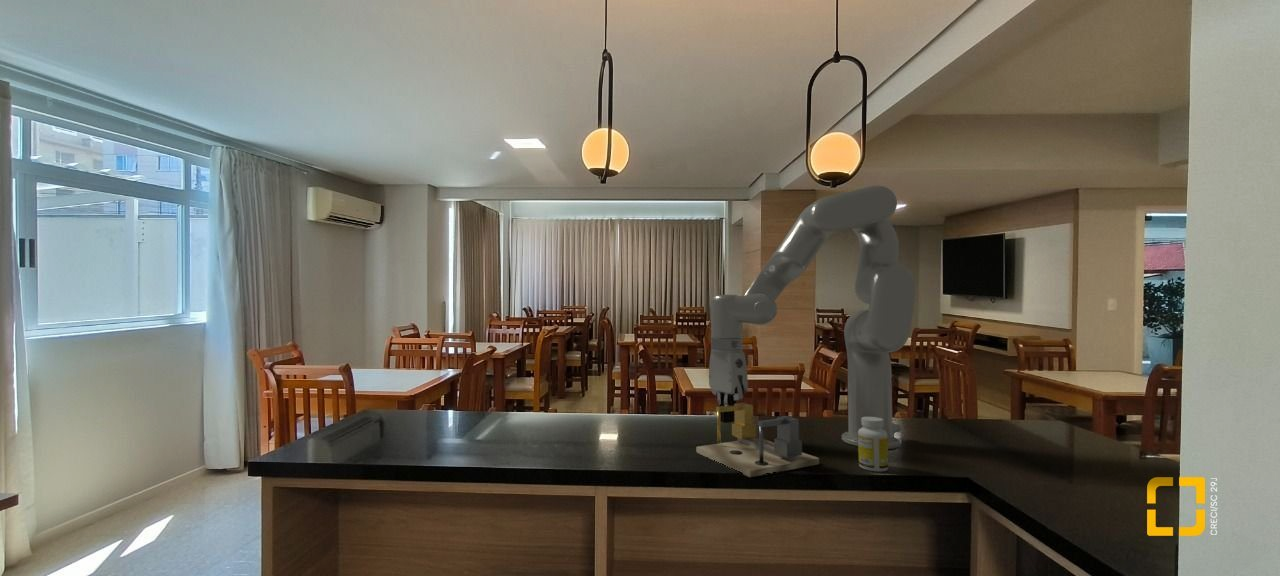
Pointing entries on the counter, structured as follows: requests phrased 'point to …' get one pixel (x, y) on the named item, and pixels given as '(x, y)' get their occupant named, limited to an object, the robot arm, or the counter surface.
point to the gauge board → (754, 457)
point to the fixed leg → (782, 437)
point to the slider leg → (738, 421)
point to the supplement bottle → (873, 445)
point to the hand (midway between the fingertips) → (726, 421)
